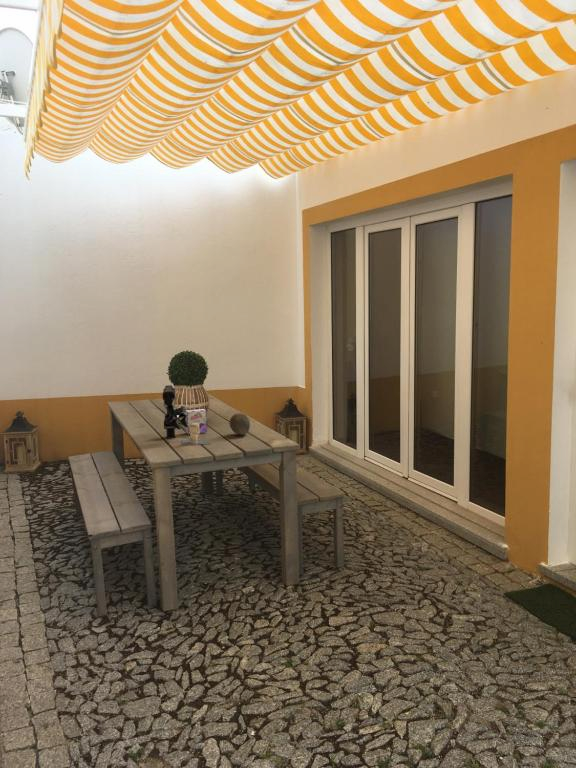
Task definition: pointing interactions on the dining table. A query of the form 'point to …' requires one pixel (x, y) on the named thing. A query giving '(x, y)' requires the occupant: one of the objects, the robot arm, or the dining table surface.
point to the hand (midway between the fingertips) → (183, 428)
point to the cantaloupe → (239, 424)
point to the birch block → (194, 433)
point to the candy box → (196, 419)
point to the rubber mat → (187, 442)
